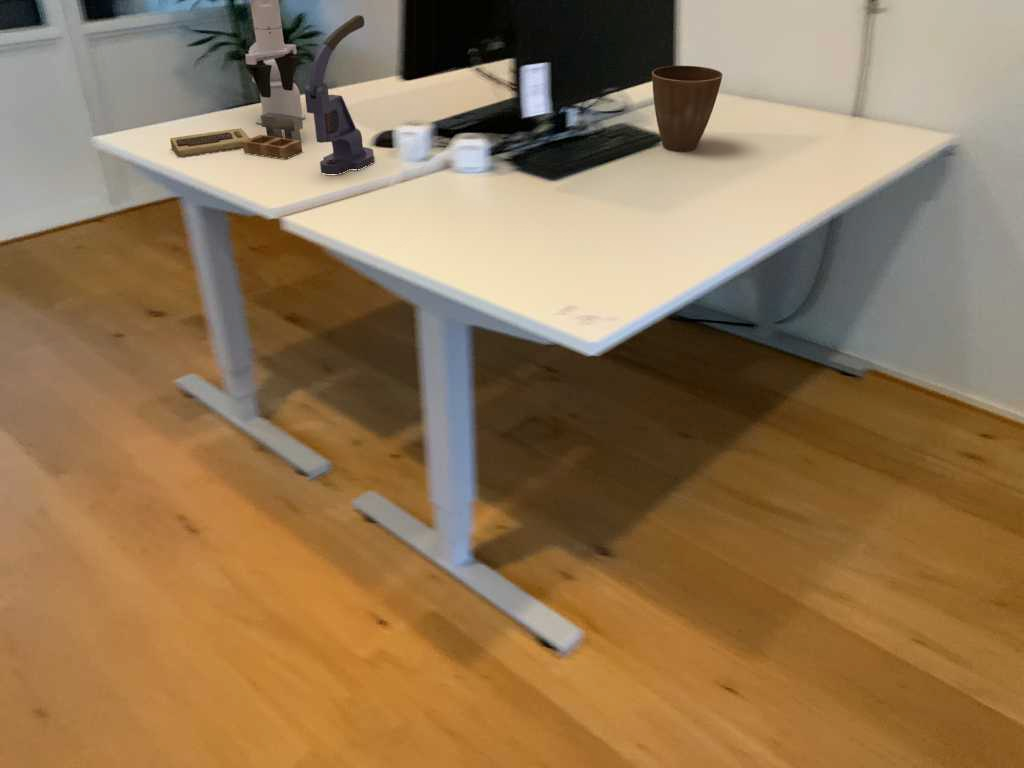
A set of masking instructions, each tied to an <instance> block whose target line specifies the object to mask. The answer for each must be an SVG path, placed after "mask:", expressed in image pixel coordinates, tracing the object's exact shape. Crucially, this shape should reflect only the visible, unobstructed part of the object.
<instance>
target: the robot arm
mask: <svg viewBox="0 0 1024 768" xmlns="http://www.w3.org/2000/svg"><path fill="white" fill-rule="evenodd" d="M249 4H250V6H251V15H252V21H253V27H254V29H253V30H254V36H255V42H254V43H253V44H252V45H251V46H250V47H249V50H248V53H246V54H245V68H246V70H247V71H248V72H249V73H250V76H251V81H252V82H253V83H254V84H255V85H256V87H257V88H258V89H257V90H258V91H259V96H260V98H259V99H260V105H261V110H262V115H264V114H266V113H276V114H284V115H291V116H298V117H302V120H304V119H306V115H303V108H302V102H301V100H302V99H301V94H300V89H299V88H298V86H297V84H296V83H295V82H294V81H295V79H296V78H295V73H296V70H297V68H298V67H297V66H298V64H299V61H300V56H299V55H297V54H298V53H297V52H298V51H297V45H296V44H291V43H287V44H286V43H285V41H284V34H283V25H282V19H281V10H280V2H279V0H249ZM255 123H256V124H259V125H262V122H261V119H259V120H256V122H255Z"/></svg>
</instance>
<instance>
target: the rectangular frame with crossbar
mask: <svg viewBox="0 0 1024 768" xmlns="http://www.w3.org/2000/svg"><path fill="white" fill-rule="evenodd" d="M302 147H303V146H302V140H301V141H299V140H293V139H286V138H285V137H283V138H279V137H272V136H267V135H264V134H259V135H256V136H253V137H251V138H250V139H248V140H245V141H243V152H245V153H244V154H246V153H251V154H250V155H253V154H257V155H256V156H259V155H264V156H263V157H265V156H271V157H270V158H272V157H277V158H276V159H278V158H284V159H286V158H288V157H290V158H292V157H294V156H293V155H295V154H297V155H299V154H301V153H300V152H302V153H303V148H302ZM298 153H299V154H298ZM291 156H292V157H291ZM295 156H296V155H295ZM284 159H283V160H284ZM288 159H289V158H288ZM286 160H287V159H286Z"/></svg>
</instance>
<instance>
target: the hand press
mask: <svg viewBox="0 0 1024 768" xmlns="http://www.w3.org/2000/svg"><path fill="white" fill-rule="evenodd" d="M364 26H365V19H364V16H363V15H358V14H357V15H355V16H353V17H352V18H351V19H349V20H347V21H346V22H345V23H343V24H342V25H341V26H339V27H338V28H337V29H335V30H334V31H333V32H332V33H331V34H329V36H328V37H327V38H326V39H325V40H324V41H323V42H322V45H321V46H320V48H319V49H318V52H317V53H316V55H315V57H314V59H313V62H312V65H311V71H310V76H309V85H308V84H307V85H306V86H305V88H304V97H305V108H306V113H308V114H313V120H314V129H315V138H316V142H317V143H320V144H321V143H331V145H332V153H329V154H328V155H326V156H323V159H322V160H320V162H319V164H320V165H319V168H320V173H321V172H322V173H325V174H339V173H343V172H345V171H347V170H349V169H357V170H358V169H361V168H363V167H365V166H368V165H369V166H371V165H372V164H371V163H373V162H374V163H375V156H374V149H373V148H371V147H365V146H363V135H362V133H361V130H360V129H359V128H356V125H355V122H354V120H353V119H352V118H353V117H352V115H351V114H350V112H349V111H350V110H349V109H348V106H347V104H346V102H345V100H344V98H343V96H342V95H338V94H329V87H328V84H326V83H325V82H324V79H325V74H326V71H327V66H328V62H329V61H330V57H331V55H332V54H333V52H334V51H335V50H336V48H337V46H338V45H339V44H340V42H342V41H343V39H345V38H346V37H347V36H349V34H352V33H353V32H355V31H358V30H359V29H362V28H363V27H364ZM374 163H373V164H374ZM370 164H371V165H370ZM369 166H368V167H369ZM349 171H350V170H349ZM347 172H348V171H347ZM322 173H321V174H322ZM345 173H346V172H345ZM343 174H344V173H343Z"/></svg>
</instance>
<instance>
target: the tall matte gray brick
mask: <svg viewBox="0 0 1024 768" xmlns="http://www.w3.org/2000/svg"><path fill="white" fill-rule="evenodd" d="M260 120H261V122H262V124H261V127H262V128H265V131H266V136H272V137H279V138H286V139H293V140H299V141H301V142H302V137H301V131H300V130H302V129H304V126H303V119H302V117H298V116H291V115H284V114H276V113H266V114H264V115H263V114H261V115H260ZM283 133H284V136H283Z"/></svg>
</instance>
